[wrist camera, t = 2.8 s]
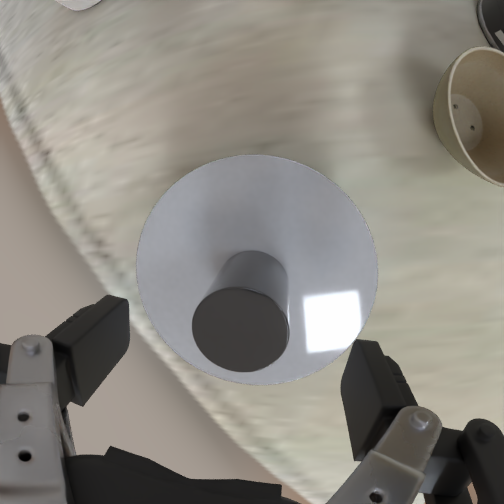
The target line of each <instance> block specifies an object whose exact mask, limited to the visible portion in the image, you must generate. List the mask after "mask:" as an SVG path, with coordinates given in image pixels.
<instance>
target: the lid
mask: <svg viewBox="0 0 504 504" xmlns="http://www.w3.org/2000/svg"><path fill="white" fill-rule="evenodd" d="M136 274H137V283H138V289H139V294H140V297H141V300H142V303H143V307H144V309H145V311H146V313H147V315H148V318H149V320H150V321H151V323H152V325H153V326H154V328H155V330H156V331H157V333H158V334H159V335H160V336H161V338H162V339H163V340H164V341H165V343H166V344H167V345H168V346H169V347H170V348H171V349H172V350H173V351H174V352H175V353H176V354H178V355H179V356H180V357H181V358H183V359H184V360H185V361H186V362H188V363H190V364H191V365H193V366H194V367H196V368H197V369H199V370H201V371H203V372H205V373H207V374H210V375H212V376H215V377H217V378H220V379H223V380H227V381H231V382H235V383H241V384H249V385H271V384H281V383H285V382H290V381H294V380H297V379H300V378H303V377H306V376H308V375H311V374H313V373H315V372H317V371H319V370H321V369H322V368H324V367H325V366H327V365H329V364H330V363H332V362H333V361H334V360H335V359H337V358H338V357H339V356H340V355H341V354H343V353H344V352H345V351H346V350H347V349H348V347H349V346H350V345H351V344H352V343H353V342H354V341H355V339H356V338H357V336H358V335H359V334H360V332H361V331H362V329H363V327H364V325H365V323H366V321H367V320H368V318H369V315H370V312H371V310H372V307H373V304H374V300H375V296H376V291H377V283H378V263H377V254H376V250H375V245H374V241H373V238H372V236H371V233H370V230H369V228H368V225H367V223H366V222H365V220H364V218H363V216H362V214H361V213H360V211H359V209H358V208H357V207H356V205H355V204H354V203H353V201H352V200H351V199H350V198H349V196H348V195H347V194H346V193H345V192H343V191H342V190H341V189H340V188H339V187H338V186H337V185H336V184H335V183H334V182H332V181H331V180H330V179H328V178H327V177H325V176H324V175H323V174H321V173H319V172H317V171H316V170H314V169H312V168H310V167H308V166H306V165H303V164H301V163H298V162H295V161H293V160H290V159H285V158H281V157H276V156H270V155H257V154H251V155H236V156H232V157H227V158H222V159H218V160H215V161H213V162H210V163H207V164H204V165H202V166H200V167H198V168H197V169H195V170H193V171H191V172H189V173H188V174H186V175H185V176H183V177H182V178H181V179H179V180H178V181H177V182H175V183H174V184H173V185H172V186H171V187H170V188H169V189H168V190H167V191H166V192H165V193H164V194H163V195H162V197H161V198H160V199H159V201H158V202H157V203H156V204H155V206H154V207H153V209H152V211H151V213H150V214H149V216H148V218H147V220H146V222H145V225H144V227H143V230H142V233H141V236H140V240H139V244H138V249H137V259H136Z"/></svg>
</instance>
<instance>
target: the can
mask: <svg viewBox="0 0 504 504" xmlns="http://www.w3.org/2000/svg"><path fill="white" fill-rule="evenodd" d="M55 1H57V2H58V3H60V4H62V5H64V6H66V7H67V8H69V9H71V10H74V11H80V10H85V9H87V8H90V7H92V6H94V5H96V4H97V3H99V2H100V1H101V0H55Z"/></svg>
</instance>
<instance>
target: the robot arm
mask: <svg viewBox="0 0 504 504" xmlns="http://www.w3.org/2000/svg"><path fill="white" fill-rule="evenodd" d="M477 14H478V19H479V22H480V25H481V28H482V30H483V32H484V34H485V36H486V38H487V40H488V41H489V43H490V44H491V46H492V47H493V48H494V49H497V50H499V51H501V52H503V53H504V0H479V2H478V5H477ZM129 341H130V326H129V303H128V300H127V299H124V298H120V297H116V296H112V295H106V296H105V297H104V298H102V299H101V300H100V301H98V302H97V303H96V304H92V305H89V306H87V307H84V308H82V309H80V310H79V311H77V312H76V313H75V314H73V316H71V317H69V318H68V319H67V320H66V322H65V321H64V322H63V323H62V324H60V325H59V326H58V327H57V328H55V329H54V330H53V331H52V332H50V333H49V334H48V335H47V336H45V337H44V336H41V335H27V336H23V337H20V338H19V339H17V340H16V341H14V342H13V344H12V345H7V344H1V343H0V504H300V503H298V502H296V501H293V500H291V499H288V498H285V497H282V496H281V489H282V485H280V484H270V483H262V482H254V481H247V480H240V479H221V480H220V479H219V480H218V479H217V480H216V479H215V480H209V479H189V478H186V477H184V476H182V475H180V474H178V473H176V472H174V471H172V470H170V469H168V468H166V467H164V466H161V465H160V464H158V463H156V462H154V461H152V460H150V459H148V458H145V457H142V456H139V455H135V454H132V453H129V452H127V451H124V450H121V449H118V448H115V447H112V446H110V447H109V449H108V450H107V452H106V454H105V455H104V456H103V455H76V452H75V447H74V442H73V438H72V432H71V427H70V421H69V415H68V410H67V405H68V404H69V402H73V403H75V404H78V405H80V406H82V407H83V406H84V405H85V403H86V402H87V401H88V400H89V398H90V397H91V396H92V394H93V393H94V392H95V391H96V389H97V388H98V387H99V386H100V384H101V383H102V381H103V380H104V379H105V378H106V377H107V375H108V374H109V373H110V372H111V370H112V369H113V368H114V367H115V365H116V364H117V363H118V362H119V360H120V359H121V358H122V357H123V355H124V354H125V353H126V351H127V349H128V346H129ZM406 382H407V381H406V379H405V377H404V376H403V373H402V371H401V369H400V367H399V365H398V364H397V363H396V362H395V361H394V360H392V359H391V358H390V357H389V356H384V354H383V352H382V350H381V348H380V346H379V344H378V342H377V341H369V340H359V339H356V340H355V342H354V343H353V346H352V349H351V352H350V355H349V358H348V361H347V364H346V367H345V370H344V373H343V376H342V380H341V396H342V401H343V405H344V410H345V415H346V420H347V426H348V431H349V436H350V441H351V447H352V452H353V458H354V461H362V462H361V463H360V464H359V465H358V467H357V468H356V469H355V470H354V472H353V473H352V474H351V475H350V477H349V478H348V479H347V480H346V481H345V483H344V484H343V485H342V486H341V487H340V488H339V489H338V491H337V492H336V493H335V494H334V495H333V496H332V497H331V498H330V500H329V501H328V502H327V503H326V504H412V503H413V501H414V499H415V497H416V496H417V494H418V492H419V493H423V494H424V499H425V503H426V504H473V503H472V500H471V497H470V494H469V492H468V488H467V486H469V484H470V483H471V482H473V486H474V488H475V491H476V494H477V498H478V502H477V504H504V435H503V434H502V432H501V430H500V429H499V428H498V427H497V426H496V425H495V424H494V423H492V422H490V421H488V420H485V419H473V420H471V421H469V422H468V424H467V425H466V427H465V428H464V430H463V431H460V430H454V429H449V428H444V427H442V423H441V421H440V419H439V417H438V416H437V415H436V414H435V413H433V412H432V411H430V410H429V409H426V408H424V407H420V406H418V404H417V402H416V400H415V398H414V396H413V394H412V392H411V390H410V387H409V385H408V383H406Z"/></svg>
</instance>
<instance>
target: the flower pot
mask: <svg viewBox="0 0 504 504" xmlns="http://www.w3.org/2000/svg"><path fill="white" fill-rule="evenodd" d="M454 107H455V108H454ZM433 119H434V124H435V128H436V131H437V134H438V136H439V138H440V140H441V142H442V143H443V145H444V146H445V148H446V149H447V150H448V151H449V153H450V154H451V155H452V156H453V157H454V158H455V159H456V160H457V161H458V162H459V163H460V164H461V165H463V166H464V167H465V168H466V169H468V170H469V171H471V172H472V173H474V174H475V175H477V176H479V177H481V178H482V179H484V180H486V181H488V182H491V183H493V184H496V185H498V186H501V187H504V53H503V52H501V51H499V50H497V49H494V48H491V47H484V46H480V47H473V48H470V49H468V50H466V51H465V52H463V53H462V54H461V55H460V56H458V57H457V58H456V59H455V60H454V61H453V63H452V64H451V65H450V66H449V67H448V69H447V70H446V72H445V73H444V75H443V77H442V78H441V80H440V83H439V85H438V87H437V90H436V94H435V98H434V104H433ZM471 126H473V128H472V127H471Z"/></svg>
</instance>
